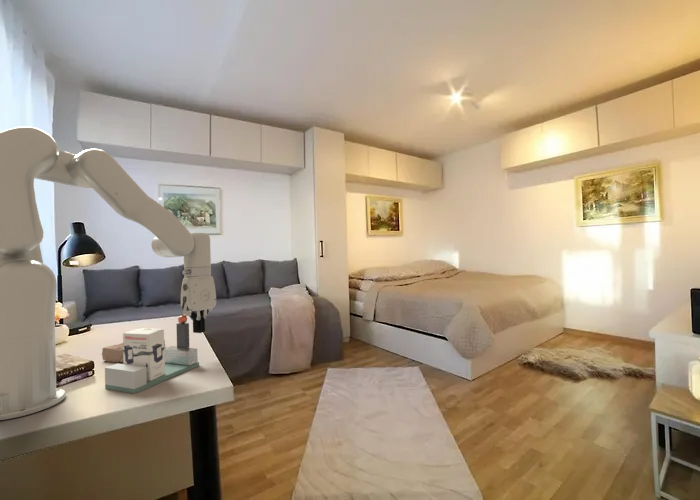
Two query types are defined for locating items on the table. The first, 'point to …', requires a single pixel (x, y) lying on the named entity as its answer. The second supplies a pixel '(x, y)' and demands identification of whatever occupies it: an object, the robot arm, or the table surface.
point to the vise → (138, 376)
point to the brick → (114, 353)
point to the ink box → (145, 351)
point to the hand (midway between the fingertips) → (199, 332)
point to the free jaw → (181, 346)
